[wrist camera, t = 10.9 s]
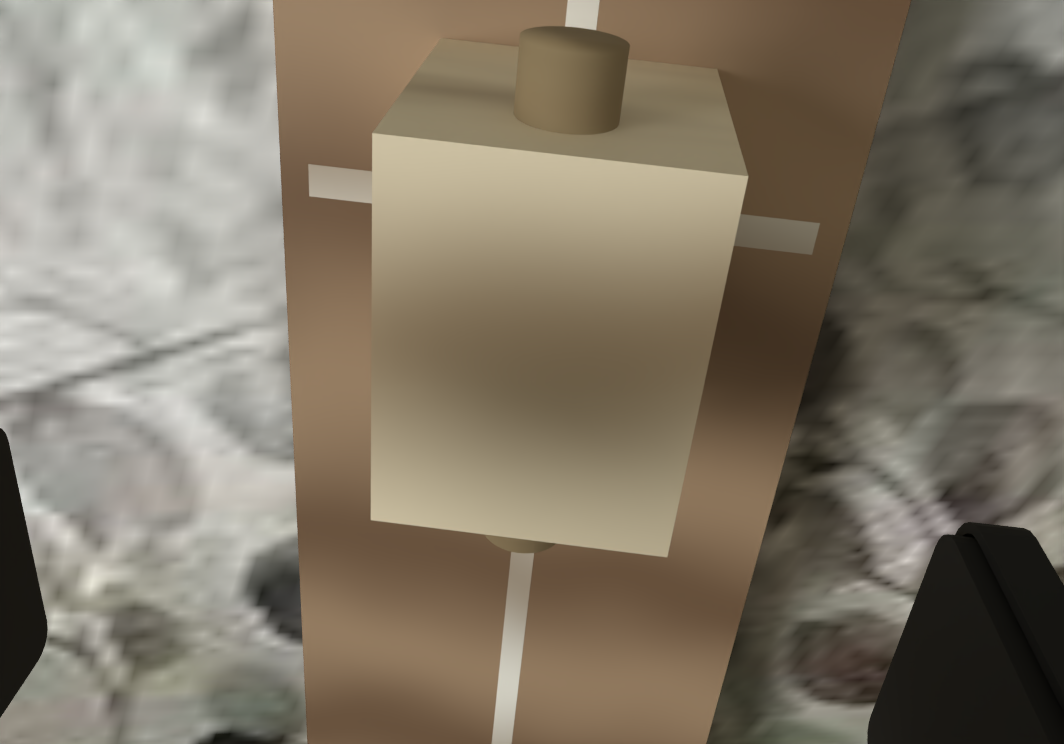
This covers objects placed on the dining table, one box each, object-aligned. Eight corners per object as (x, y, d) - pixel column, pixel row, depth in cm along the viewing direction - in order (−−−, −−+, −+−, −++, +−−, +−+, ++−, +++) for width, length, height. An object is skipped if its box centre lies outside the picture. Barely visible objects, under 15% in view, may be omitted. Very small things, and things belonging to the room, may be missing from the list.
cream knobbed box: (650, 425, 20) (657, 606, 15) (426, 397, 20) (370, 569, 15) (728, 4, 15) (766, 92, 11) (443, -28, 16) (373, 48, 11)
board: (647, 889, 31) (648, 954, 29) (332, 846, 31) (315, 908, 30) (898, -83, 16) (929, -66, 15) (304, -147, 17) (266, -138, 15)
